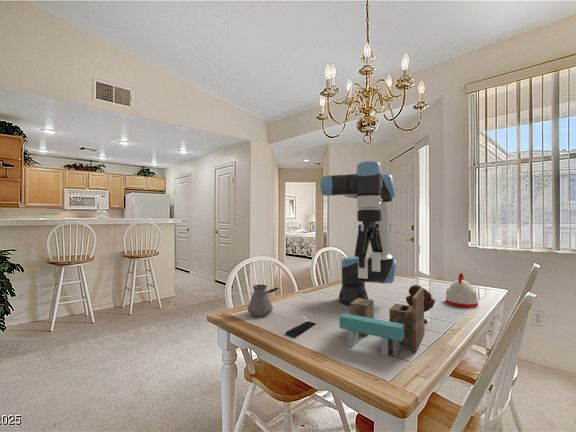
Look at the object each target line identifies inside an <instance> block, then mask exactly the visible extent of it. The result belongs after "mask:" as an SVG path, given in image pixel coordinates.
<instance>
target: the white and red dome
mask: <svg viewBox="0 0 576 432" xmlns="http://www.w3.org/2000/svg"><path fill="white" fill-rule="evenodd" d="M463 274H464V273H462V272H460V273H459V274H458V279H457V280H454V281H453V282H452V283H451V284H450V286H449V287H447V288H446V293H445V302H446V304H448V305H451V306H454V307H459V308H468V309H470V308H471V307H473V308H477V307H478V306H479V300H478V299H479V298H478V293H477V290H475V289H474V287H473V286H472V285H471V284H470V283H469V282H468V281H466V280H465V276H464V275H463ZM476 306H477V307H476Z"/></svg>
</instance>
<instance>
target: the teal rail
mask: <svg viewBox="0 0 576 432" xmlns="http://www.w3.org/2000/svg"><path fill="white" fill-rule="evenodd" d="M339 329H342V330H347V331H348V330H350V331H355V332H359V333H364V334H369V335H370V336H374V337H379V338H381V337H382V338H387V339H391V340H393V342H392V357H394V358H397V357H398V355H399V354H400V352H401V349H400V347H401V344H400V341H401V342H402V340H403V338H404V324H400V323H395V322H390V320H382V319H378V318H374V319H373V318H368V317H362V316H357V315H352V314H351V313H345V312H344V313H343V314H341V315H339ZM369 335H368V336H369Z"/></svg>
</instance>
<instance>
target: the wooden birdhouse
mask: <svg viewBox="0 0 576 432" xmlns="http://www.w3.org/2000/svg"><path fill="white" fill-rule="evenodd" d="M424 289H425V287H422V288H420V289H419V290H418V291H417V293H416V294H415V295H414V296H413V297H412V306H409V305H408V304H401V303H394V304H393V305H392V306H391V307H390V308H389V322H395V323H400V324H404V338H403V340H402V342H401V341H400V345H402V346H407V347H411V348H412V353H415V354H416V353H418V350H419V348H420V346H421V343H422V342H423V339H424V337H425V324H424V319H425V312H424ZM392 343H393V340H392Z"/></svg>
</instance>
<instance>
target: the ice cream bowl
mask: <svg viewBox="0 0 576 432" xmlns="http://www.w3.org/2000/svg"><path fill="white" fill-rule="evenodd" d="M420 288H423V286H421V285H418V284H414V285H411V286H410V287H409V289H408V293H409V295H407V296H405V301H406V303H407V305H408V306H412V297H413V296H414V295H415V294H416V293H417V291H418V290H419V289H420ZM435 303H436V300H435V299H434V298H433V297H432V294H431V293H430V291H428V290H427V289H426V288H424V313H425V312H428V311H429V310H431V309H432V308H433V307H434V305H435ZM428 323H429V321H428V320H427V319H425V318H424V325H427V324H428Z"/></svg>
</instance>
